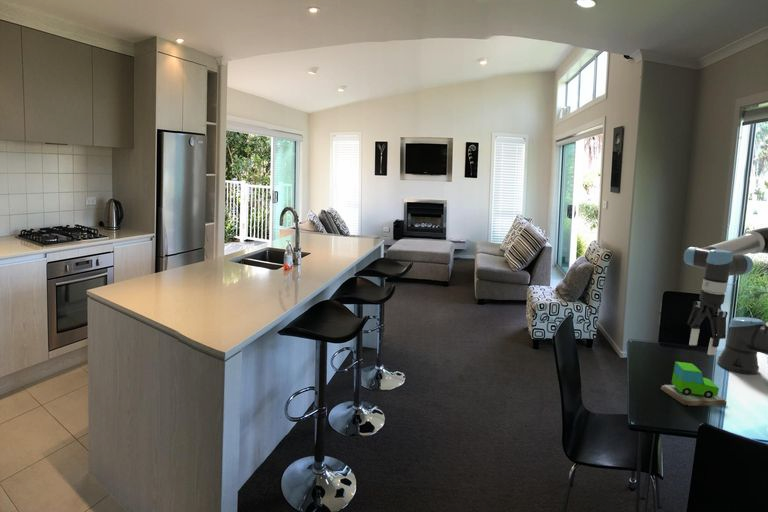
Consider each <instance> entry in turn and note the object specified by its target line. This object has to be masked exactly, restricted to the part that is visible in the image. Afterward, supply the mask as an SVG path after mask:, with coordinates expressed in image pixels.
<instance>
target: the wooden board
mask: <svg viewBox="0 0 768 512" xmlns="http://www.w3.org/2000/svg"><path fill="white" fill-rule="evenodd" d="M660 390H661V391H663V392H664V393H665V394H667V395H669V396H670V397H671V398H673V399H675V400H676V401H677V402H679V403H681V405H683V404H684V405H688V406H727V401H726V400H725V398H722V397H721V396H719V394H718V395H717V396H712V397H711V398H706V397H705V396H704V395H700V394H693V393H690V395H684V394H683V393H682V392H679V390H678V389H677V388H676V387H675V386H674V385H673V384H664V385H661V387H660ZM684 405H683V406H684Z"/></svg>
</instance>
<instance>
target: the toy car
mask: <svg viewBox="0 0 768 512" xmlns="http://www.w3.org/2000/svg"><path fill="white" fill-rule="evenodd" d="M671 385H674V386H675V387H676V388H677V389H678V390H679V392H682V393H683V394H684V395H690V393H693V394H700V395H704V396H705V397H706V398H711V397H712V396H717V395H718V396H719V390H720V388H719V387H718V386H717V384H715V383H714V382H713V381H712V380H711V379H710V378H707V377H703V372H702V371H701V370H700V369H699V368H698V367H697V366H696V365H694V364H693V363H692V362H691V363H689V362H682V361H674V367H673V372H672V378H671Z"/></svg>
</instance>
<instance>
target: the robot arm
mask: <svg viewBox="0 0 768 512" xmlns="http://www.w3.org/2000/svg"><path fill="white" fill-rule="evenodd" d="M759 253H761V254H766V255H767V254H768V227H762V228H757V229H753V230H750V231H746V232H744V233H743V234H742V235H741V236H737V237H734V238H732V239H729V240H724V241H722V242H718V243H714V244H712V245H711V244H710V245H709V246H708V245H707V246H705V247H697V246H695V247H694V246H690V247H688V248H686V250H685V251H684V254H683V261H684V263H685V264H687V265H689V266H693V267H696V268H700V269H704V274H703V280H702V285H701V289H702V290H701V291H700V293H699V300H700V301H697V300H696V301H693V303H692V309H691V312H690V315H689V317H688V320H687V322H686V323H687V325H688V326H690V332H689V336H690V337H689V343H688V345H689V346H697V345H698V340H699V335H700V329H701V328H700V326H701V324H702V323H703V321H704V320H705V318H706V317H708V320H709V323H710V328H711V335H712V336H711V337H710V339H709V343H708V349H707V355H708V356H716V354H717V350H718V348H719V346H720V345H719V344H720V340H722V339H723V340H725V339H726V342H725V345H724V348H723V350H722V352H721V353H720V356H718V358H717V360H716V361H717V362H716V363H717V365H718V366H720V367H722V369H725V370H728V371H731V372H735V373H739V374H743V375H757V374H759V369H760V366H759V363H758V362H759V361H758V353H761V354H764V355H767V356H768V321H767V322H765V321H764V320H762V319H759V318H754V317H747V316H739V317H737V316H735V317H733V318H731V320H730V322H729V326H728V330H727V318H728V317H727V316H728V314H729V313H728V311H724V310H722V305H723V304H724V303H725V298H726V295H725V293H726V292H727V287H728V284H729V283H728V282H729V277H730V276H742V275H747V274H749V273H751V272H752V270H753V267H754V262H753V260H752V259H751V257H750V256H748V255H747V254H751V255H752V254H753V255H755V254H759ZM727 331H728V332H727ZM726 336H727V337H726Z"/></svg>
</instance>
